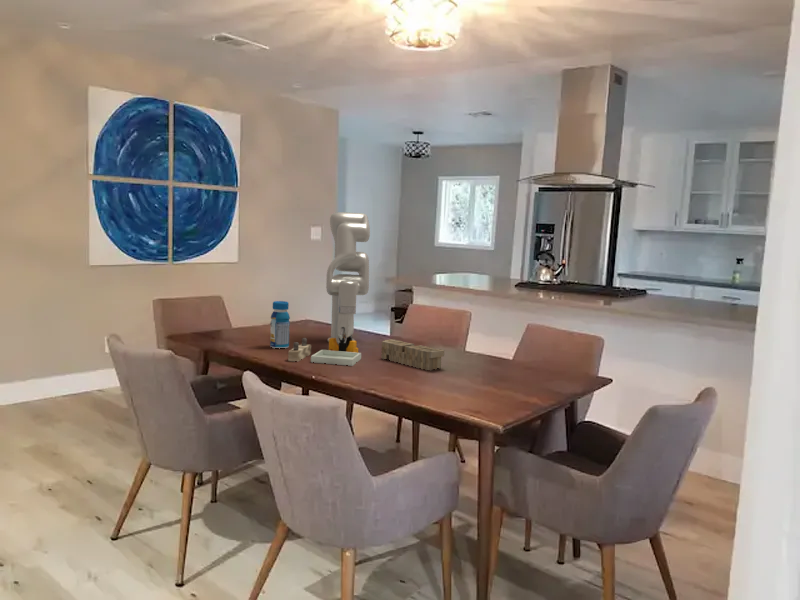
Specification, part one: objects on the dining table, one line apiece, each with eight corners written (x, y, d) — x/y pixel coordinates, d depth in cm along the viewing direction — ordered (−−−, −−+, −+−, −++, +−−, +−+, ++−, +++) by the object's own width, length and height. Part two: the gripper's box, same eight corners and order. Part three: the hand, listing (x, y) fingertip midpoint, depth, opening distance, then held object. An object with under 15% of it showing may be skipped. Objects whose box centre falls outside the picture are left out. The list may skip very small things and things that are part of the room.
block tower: (378, 360, 266) (430, 372, 246) (378, 340, 265) (431, 350, 245) (391, 358, 272) (444, 369, 252) (392, 338, 271) (444, 348, 251)
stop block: (301, 353, 268) (302, 336, 268) (310, 354, 268) (311, 337, 267) (288, 360, 253) (288, 343, 252) (297, 361, 252) (298, 344, 251)
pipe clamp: (358, 355, 271) (358, 340, 270) (353, 357, 267) (353, 341, 266) (333, 351, 276) (334, 337, 275) (328, 353, 272) (329, 338, 271)
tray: (321, 355, 266) (321, 349, 266) (361, 358, 263) (361, 352, 262) (310, 362, 252) (310, 356, 252) (352, 366, 249) (352, 359, 249)
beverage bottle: (283, 350, 273) (284, 303, 271) (266, 347, 276) (267, 302, 274) (292, 346, 281) (294, 301, 279) (275, 344, 284) (276, 300, 281)
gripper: (343, 307, 279) (342, 346, 281) (332, 311, 262) (331, 353, 264) (360, 308, 278) (358, 347, 280) (350, 313, 261) (348, 354, 263)
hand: (345, 350), depth 272 cm, fingers open, 8 cm apart
